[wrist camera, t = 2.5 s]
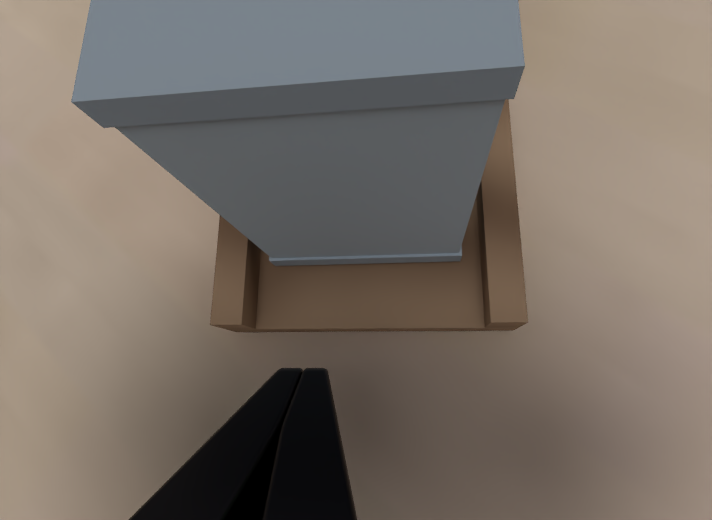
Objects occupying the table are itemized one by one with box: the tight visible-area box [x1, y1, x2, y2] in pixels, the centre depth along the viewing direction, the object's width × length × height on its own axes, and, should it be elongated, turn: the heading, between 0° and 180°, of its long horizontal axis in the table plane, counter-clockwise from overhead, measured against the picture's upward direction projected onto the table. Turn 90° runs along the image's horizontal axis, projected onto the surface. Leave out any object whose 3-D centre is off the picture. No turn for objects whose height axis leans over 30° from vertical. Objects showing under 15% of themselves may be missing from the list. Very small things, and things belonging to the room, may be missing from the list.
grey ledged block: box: [71, 0, 525, 266], centre depth 13 cm, size 6×7×11 cm
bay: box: [210, 99, 528, 332], centre depth 18 cm, size 19×11×5 cm, turn 0°
